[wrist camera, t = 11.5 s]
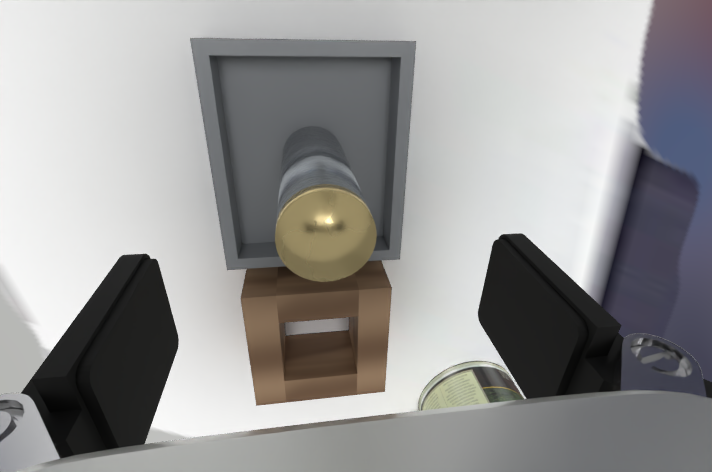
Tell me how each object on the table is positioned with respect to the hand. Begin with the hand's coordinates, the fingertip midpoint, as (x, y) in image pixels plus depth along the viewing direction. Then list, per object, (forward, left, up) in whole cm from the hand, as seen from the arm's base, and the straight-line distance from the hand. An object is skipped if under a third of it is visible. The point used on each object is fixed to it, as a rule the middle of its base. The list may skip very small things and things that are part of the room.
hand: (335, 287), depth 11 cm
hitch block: (+14, 0, -17) cm, 22 cm away
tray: (+1, 0, -17) cm, 17 cm away
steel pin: (+1, 0, -17) cm, 16 cm away
